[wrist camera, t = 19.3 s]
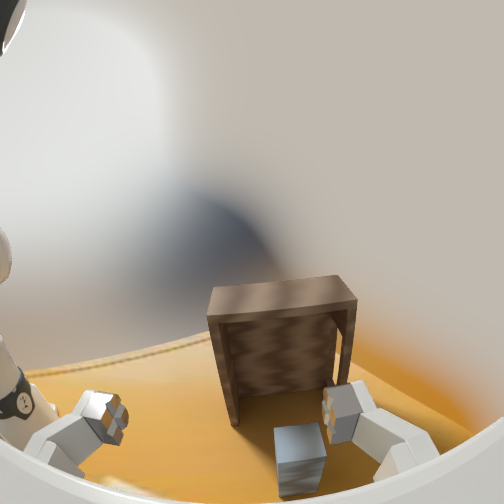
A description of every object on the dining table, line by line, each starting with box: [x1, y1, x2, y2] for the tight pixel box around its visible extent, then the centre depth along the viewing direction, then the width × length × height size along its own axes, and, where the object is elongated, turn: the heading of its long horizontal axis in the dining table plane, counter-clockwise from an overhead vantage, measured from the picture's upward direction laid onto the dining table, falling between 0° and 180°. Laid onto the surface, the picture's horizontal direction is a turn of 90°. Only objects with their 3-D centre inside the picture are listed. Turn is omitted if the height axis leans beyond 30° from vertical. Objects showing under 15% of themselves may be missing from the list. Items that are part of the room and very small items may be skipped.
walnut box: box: [207, 275, 357, 426], centre depth 39 cm, size 18×8×22 cm, turn 91°
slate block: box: [274, 422, 327, 497], centre depth 25 cm, size 5×5×12 cm
